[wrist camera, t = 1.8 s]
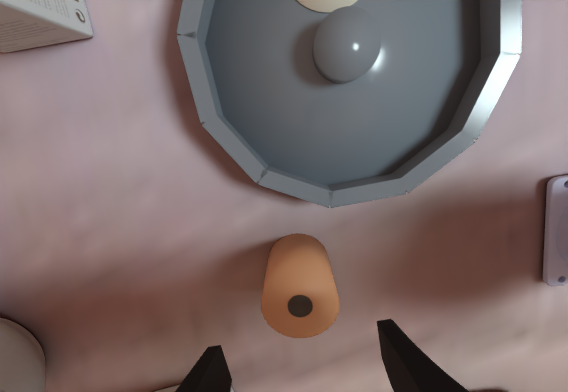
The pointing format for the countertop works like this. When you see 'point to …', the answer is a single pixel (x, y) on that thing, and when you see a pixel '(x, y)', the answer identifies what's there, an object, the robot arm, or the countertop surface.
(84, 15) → the skincare box
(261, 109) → the groove tray
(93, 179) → the countertop surface
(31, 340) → the teacup
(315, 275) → the bead
